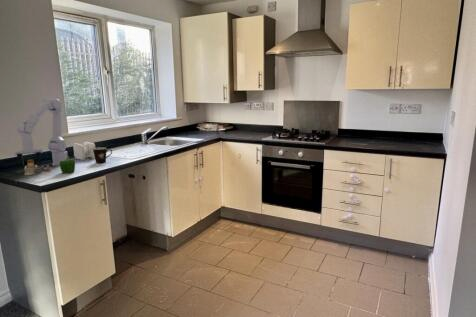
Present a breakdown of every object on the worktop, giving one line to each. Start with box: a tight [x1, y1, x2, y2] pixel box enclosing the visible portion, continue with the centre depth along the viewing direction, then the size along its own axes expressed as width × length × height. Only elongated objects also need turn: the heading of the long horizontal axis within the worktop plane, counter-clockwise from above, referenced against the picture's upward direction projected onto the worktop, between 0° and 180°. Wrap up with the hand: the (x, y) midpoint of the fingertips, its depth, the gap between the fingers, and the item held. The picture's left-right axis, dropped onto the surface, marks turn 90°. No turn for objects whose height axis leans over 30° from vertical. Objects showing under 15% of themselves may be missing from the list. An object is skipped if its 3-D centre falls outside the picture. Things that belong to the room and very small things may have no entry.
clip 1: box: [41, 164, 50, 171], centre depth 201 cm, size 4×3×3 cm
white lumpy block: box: [72, 141, 96, 161], centre depth 237 cm, size 15×11×12 cm
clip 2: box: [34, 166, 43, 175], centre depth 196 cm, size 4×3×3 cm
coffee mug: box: [93, 146, 113, 165], centre depth 224 cm, size 12×9×10 cm
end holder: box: [24, 164, 38, 174], centre depth 199 cm, size 6×6×3 cm
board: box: [23, 166, 53, 176], centre depth 201 cm, size 14×15×1 cm
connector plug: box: [26, 159, 35, 168], centre depth 199 cm, size 3×3×7 cm
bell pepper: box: [59, 156, 76, 175], centre depth 196 cm, size 8×8×10 cm
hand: (30, 165), depth 199 cm, fingers open, 7 cm apart
